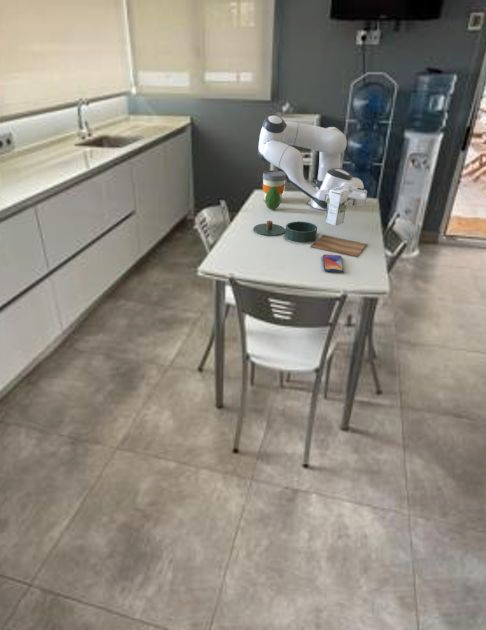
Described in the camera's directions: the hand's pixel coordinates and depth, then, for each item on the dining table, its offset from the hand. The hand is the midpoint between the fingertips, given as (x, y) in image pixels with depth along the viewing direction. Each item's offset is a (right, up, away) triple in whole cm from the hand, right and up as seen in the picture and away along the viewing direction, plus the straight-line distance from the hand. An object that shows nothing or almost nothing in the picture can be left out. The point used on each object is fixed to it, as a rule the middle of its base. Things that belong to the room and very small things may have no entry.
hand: (336, 202), depth 186 cm
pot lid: (-26, -7, +22) cm, 35 cm away
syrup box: (0, -7, +6) cm, 9 cm away
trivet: (+3, -17, +9) cm, 19 cm away
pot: (-12, -12, +16) cm, 24 cm away
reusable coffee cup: (-20, +17, +63) cm, 68 cm away
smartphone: (-3, -27, -7) cm, 28 cm away
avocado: (-22, +9, +50) cm, 56 cm away
